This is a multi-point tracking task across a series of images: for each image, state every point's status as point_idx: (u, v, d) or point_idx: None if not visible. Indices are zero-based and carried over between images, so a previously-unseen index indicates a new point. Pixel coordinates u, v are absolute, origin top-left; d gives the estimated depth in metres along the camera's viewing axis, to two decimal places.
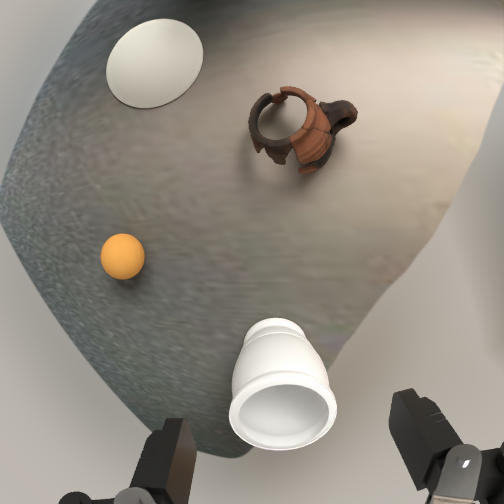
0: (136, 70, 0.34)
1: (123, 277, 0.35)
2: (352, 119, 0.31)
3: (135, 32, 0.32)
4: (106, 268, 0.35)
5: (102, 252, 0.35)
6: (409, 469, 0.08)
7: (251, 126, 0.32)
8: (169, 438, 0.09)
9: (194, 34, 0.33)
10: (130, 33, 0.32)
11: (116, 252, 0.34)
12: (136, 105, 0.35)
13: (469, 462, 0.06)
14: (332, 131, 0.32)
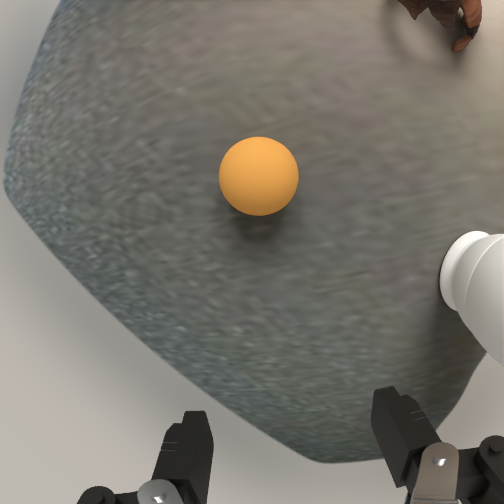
0: None
1: (275, 205, 0.21)
2: None
3: None
4: (242, 194, 0.20)
5: (227, 169, 0.20)
6: (389, 466, 0.09)
7: None
8: (189, 430, 0.10)
9: None
10: None
11: (260, 157, 0.19)
12: None
13: (445, 460, 0.06)
14: None
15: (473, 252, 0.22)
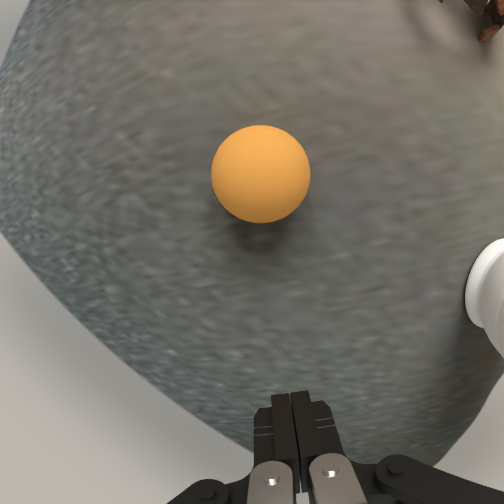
0: None
1: (281, 211, 0.16)
2: None
3: None
4: (240, 197, 0.16)
5: (221, 165, 0.16)
6: (299, 470, 0.09)
7: None
8: (282, 412, 0.10)
9: None
10: None
11: (263, 149, 0.15)
12: None
13: (333, 473, 0.07)
14: None
15: None
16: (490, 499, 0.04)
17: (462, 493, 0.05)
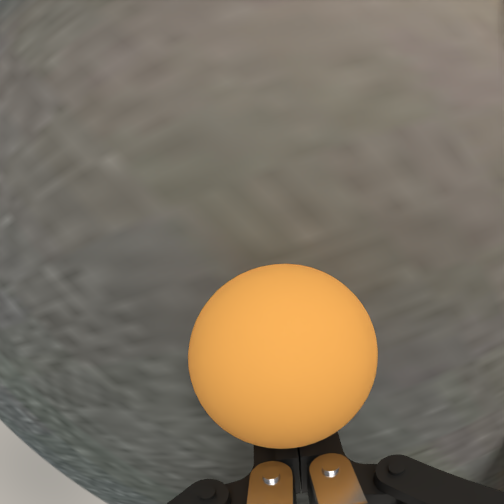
0: None
1: (324, 436, 0.07)
2: None
3: None
4: (240, 420, 0.07)
5: (203, 350, 0.07)
6: (299, 470, 0.09)
7: None
8: None
9: None
10: None
11: (292, 324, 0.07)
12: None
13: (333, 473, 0.07)
14: None
15: None
16: (490, 499, 0.04)
17: (462, 493, 0.05)
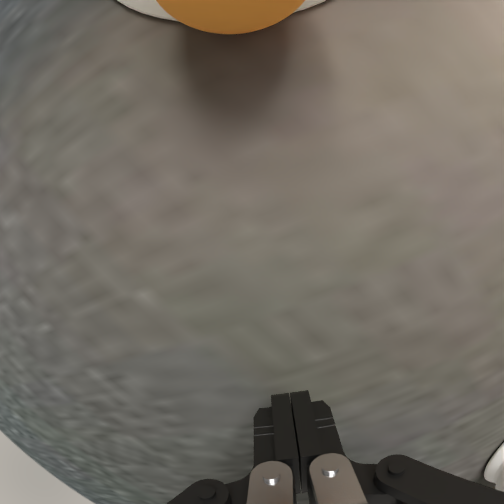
0: None
1: None
2: None
3: None
4: None
5: None
6: (298, 470, 0.09)
7: None
8: (282, 412, 0.10)
9: None
10: None
11: None
12: None
13: (333, 473, 0.07)
14: None
15: None
16: (490, 499, 0.04)
17: (462, 493, 0.05)
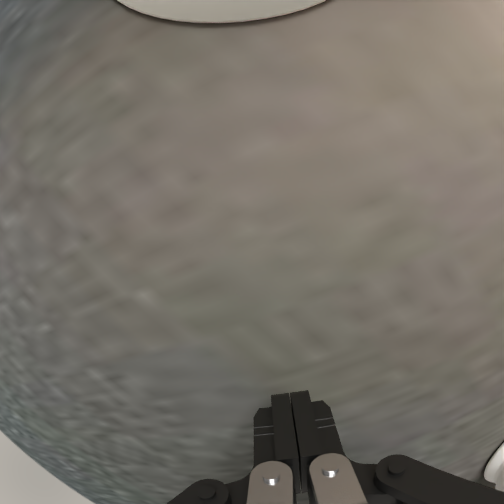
0: None
1: None
2: None
3: None
4: None
5: None
6: (298, 470, 0.09)
7: None
8: (282, 412, 0.10)
9: None
10: None
11: None
12: (217, 16, 0.10)
13: (333, 473, 0.07)
14: None
15: None
16: (490, 499, 0.04)
17: (462, 493, 0.05)
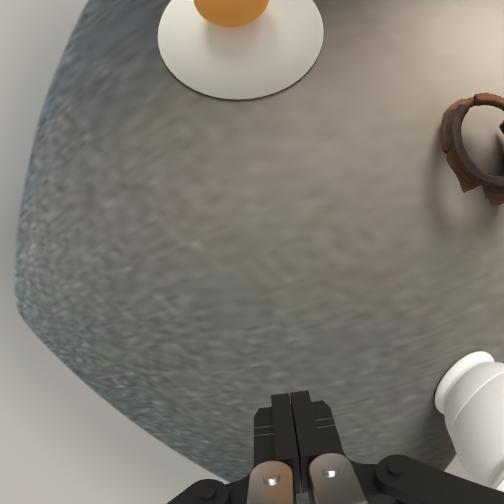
0: (216, 41, 0.20)
1: None
2: None
3: None
4: None
5: None
6: (299, 470, 0.09)
7: (464, 158, 0.18)
8: (282, 412, 0.10)
9: None
10: None
11: None
12: (235, 96, 0.21)
13: (333, 473, 0.07)
14: None
15: (466, 386, 0.22)
16: (490, 499, 0.04)
17: (462, 493, 0.05)
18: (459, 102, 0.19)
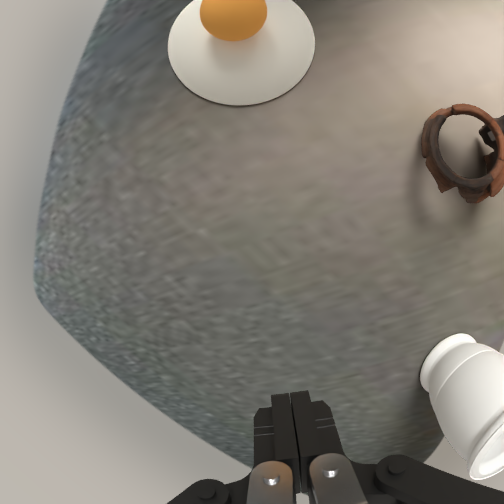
0: (220, 53, 0.24)
1: None
2: None
3: (199, 5, 0.22)
4: None
5: None
6: (299, 470, 0.09)
7: (440, 163, 0.22)
8: (282, 412, 0.10)
9: (289, 1, 0.22)
10: (191, 7, 0.22)
11: None
12: (236, 102, 0.25)
13: (333, 473, 0.07)
14: None
15: (448, 364, 0.26)
16: (490, 500, 0.04)
17: (462, 493, 0.05)
18: (439, 112, 0.23)
